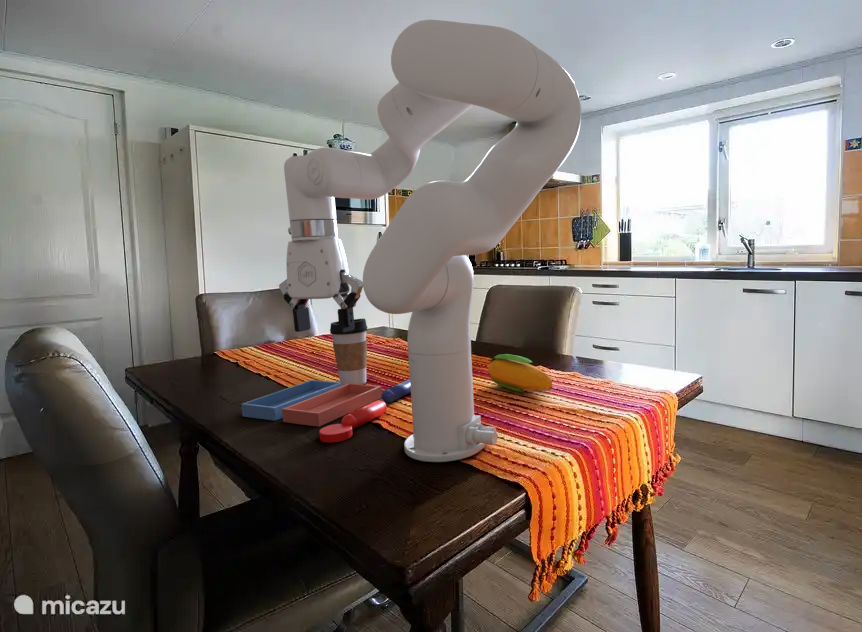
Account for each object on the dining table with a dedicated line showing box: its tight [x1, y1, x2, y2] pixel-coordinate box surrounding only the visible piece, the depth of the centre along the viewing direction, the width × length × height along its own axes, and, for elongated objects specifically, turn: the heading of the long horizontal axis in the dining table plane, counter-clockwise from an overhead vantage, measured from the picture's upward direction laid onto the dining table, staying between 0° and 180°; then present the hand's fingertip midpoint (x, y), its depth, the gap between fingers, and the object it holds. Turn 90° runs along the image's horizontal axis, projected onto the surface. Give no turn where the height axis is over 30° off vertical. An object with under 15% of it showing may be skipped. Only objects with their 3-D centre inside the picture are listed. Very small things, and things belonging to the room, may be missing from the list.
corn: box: [487, 353, 553, 394], centre depth 108 cm, size 7×8×20 cm
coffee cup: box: [329, 318, 369, 386], centre depth 119 cm, size 8×8×15 cm
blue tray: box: [240, 379, 342, 422], centre depth 105 cm, size 9×18×2 cm, turn 157°
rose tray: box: [282, 383, 383, 427], centre depth 101 cm, size 9×18×2 cm, turn 157°
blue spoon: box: [381, 378, 411, 404], centre depth 109 cm, size 16×5×3 cm, turn 157°
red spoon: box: [318, 399, 387, 444], centre depth 90 cm, size 16×5×3 cm, turn 157°
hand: (324, 330), depth 89 cm, fingers open, 9 cm apart
